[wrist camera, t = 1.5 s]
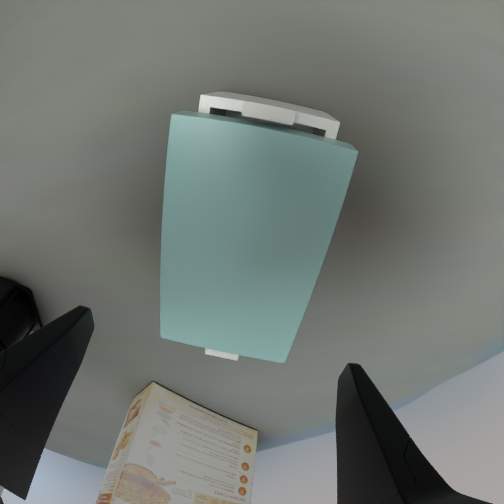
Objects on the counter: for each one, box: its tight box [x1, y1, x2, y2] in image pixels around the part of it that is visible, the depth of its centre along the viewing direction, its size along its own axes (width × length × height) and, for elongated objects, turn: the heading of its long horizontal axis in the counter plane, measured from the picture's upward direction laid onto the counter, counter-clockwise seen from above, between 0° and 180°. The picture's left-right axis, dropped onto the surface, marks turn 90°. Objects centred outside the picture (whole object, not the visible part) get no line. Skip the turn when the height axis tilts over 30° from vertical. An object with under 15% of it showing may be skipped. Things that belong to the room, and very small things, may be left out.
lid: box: [160, 110, 359, 363], centre depth 15 cm, size 12×7×2 cm, turn 170°
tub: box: [198, 91, 340, 360], centre depth 17 cm, size 14×6×6 cm, turn 170°
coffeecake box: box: [96, 382, 258, 504], centre depth 26 cm, size 15×7×20 cm, turn 52°
